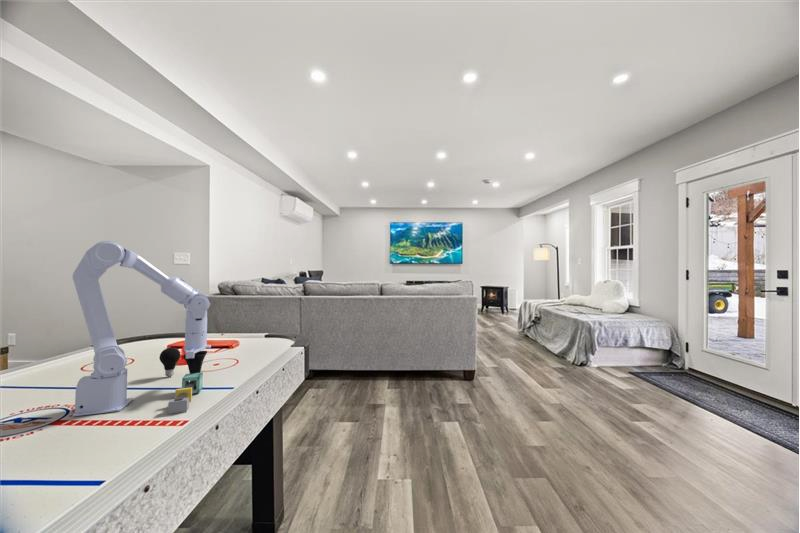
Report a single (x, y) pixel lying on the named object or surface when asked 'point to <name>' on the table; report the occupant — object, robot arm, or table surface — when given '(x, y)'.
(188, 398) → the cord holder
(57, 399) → the table surface
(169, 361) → the light bulb
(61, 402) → the table surface
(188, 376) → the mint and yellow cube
